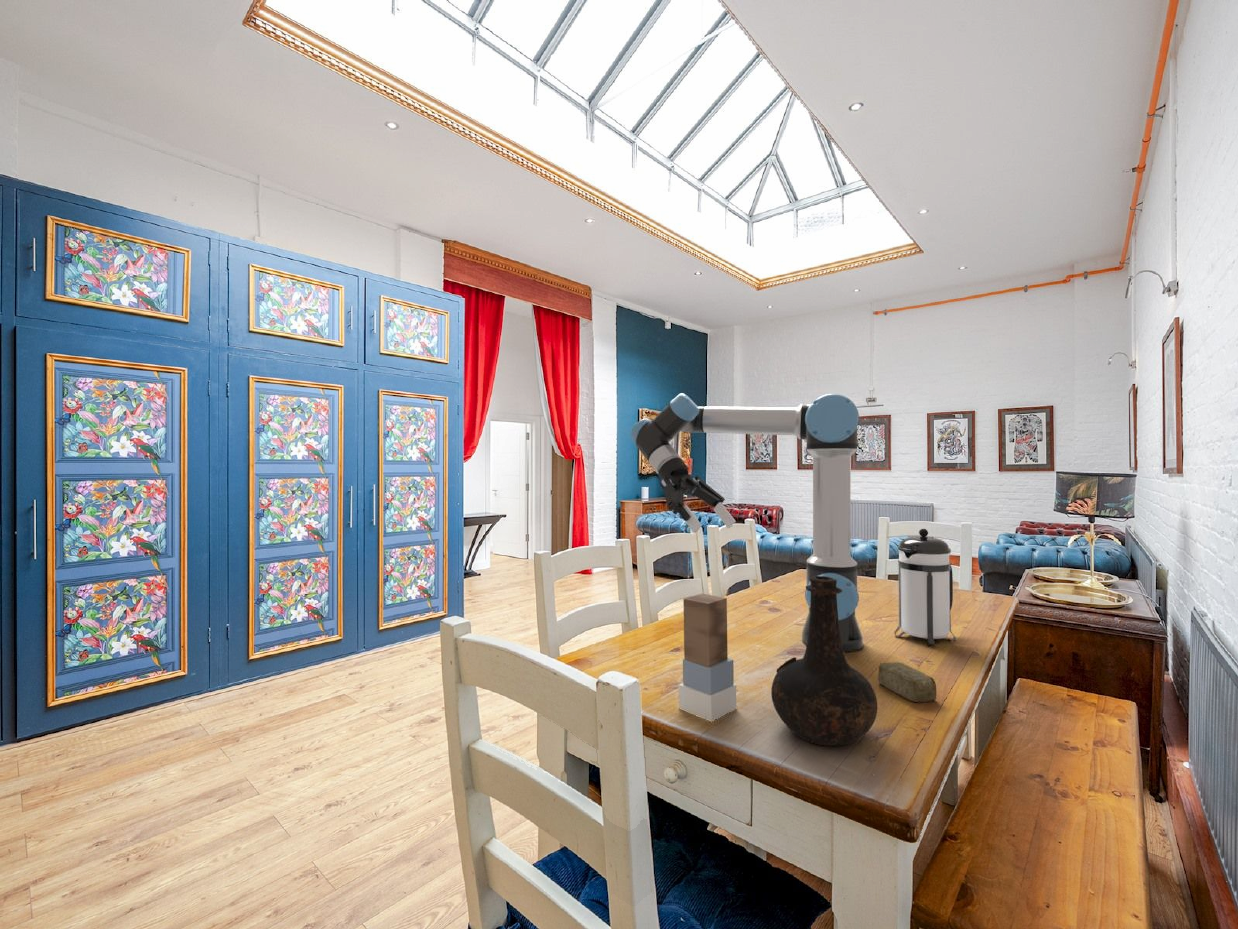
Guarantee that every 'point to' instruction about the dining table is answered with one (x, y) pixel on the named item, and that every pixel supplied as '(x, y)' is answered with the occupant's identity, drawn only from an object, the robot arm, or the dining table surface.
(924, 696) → the stone block
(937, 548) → the coffee press
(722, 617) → the walnut block
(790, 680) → the dark brown bulbous vessel
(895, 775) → the dining table surface
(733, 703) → the tower base block
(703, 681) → the tower top block
